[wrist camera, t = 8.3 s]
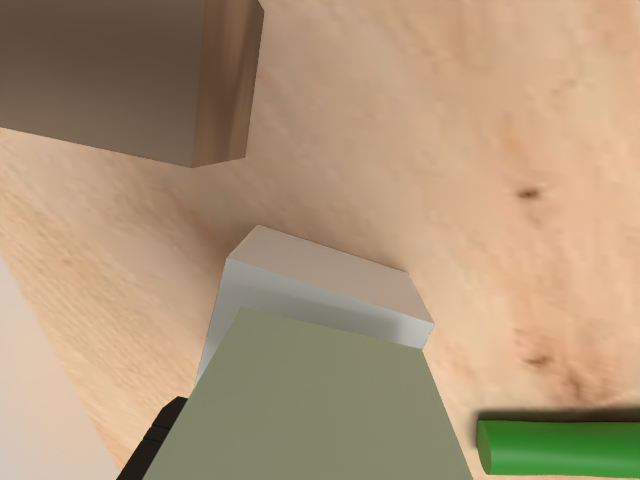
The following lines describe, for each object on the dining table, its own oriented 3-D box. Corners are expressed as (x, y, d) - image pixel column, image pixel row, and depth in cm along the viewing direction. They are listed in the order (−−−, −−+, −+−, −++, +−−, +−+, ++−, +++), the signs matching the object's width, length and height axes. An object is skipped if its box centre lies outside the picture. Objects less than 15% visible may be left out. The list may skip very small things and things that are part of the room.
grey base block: (258, 223, 17) (226, 257, 12) (407, 271, 17) (435, 323, 12) (223, 350, 19) (184, 422, 14) (354, 390, 19) (360, 473, 14)
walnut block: (123, -19, 14) (-33, -134, 8) (264, 12, 14) (212, -80, 8) (120, 130, 15) (-9, 124, 10) (245, 157, 15) (191, 167, 10)
